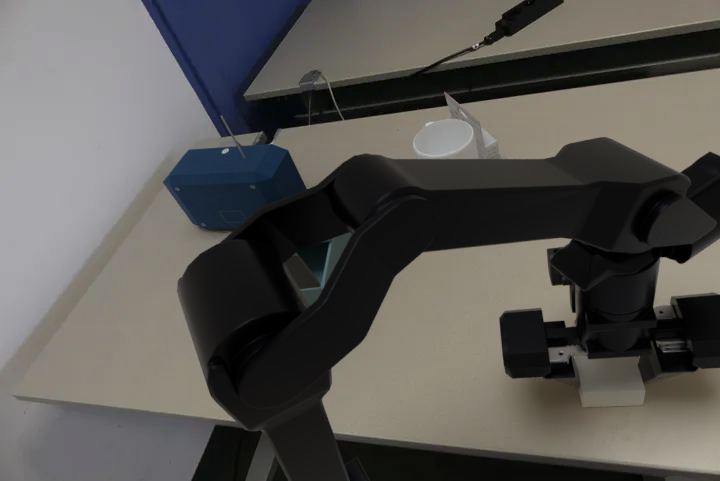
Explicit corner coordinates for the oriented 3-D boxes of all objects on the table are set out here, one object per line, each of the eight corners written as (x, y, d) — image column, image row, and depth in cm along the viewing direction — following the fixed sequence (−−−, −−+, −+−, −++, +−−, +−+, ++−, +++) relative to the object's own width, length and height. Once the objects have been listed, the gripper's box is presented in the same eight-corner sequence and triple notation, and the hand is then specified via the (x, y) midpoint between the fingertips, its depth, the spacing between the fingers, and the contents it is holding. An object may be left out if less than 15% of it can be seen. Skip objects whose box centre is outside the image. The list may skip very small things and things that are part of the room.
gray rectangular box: (643, 405, 50) (645, 390, 48) (582, 407, 52) (581, 393, 50) (633, 368, 53) (634, 352, 51) (575, 371, 55) (574, 356, 53)
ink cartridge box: (467, 135, 88) (457, 84, 81) (502, 168, 79) (494, 114, 73) (453, 142, 88) (443, 91, 81) (487, 175, 79) (478, 122, 73)
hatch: (321, 284, 63) (320, 287, 62) (227, 294, 66) (226, 297, 66) (296, 252, 57) (296, 255, 57) (195, 265, 61) (194, 268, 60)
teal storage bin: (342, 324, 68) (320, 284, 62) (254, 331, 72) (226, 295, 66) (355, 240, 78) (337, 200, 73) (277, 251, 82) (254, 213, 76)
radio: (316, 196, 88) (267, 93, 75) (297, 234, 83) (240, 130, 70) (216, 198, 97) (156, 106, 84) (193, 232, 92) (125, 140, 78)
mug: (494, 205, 75) (484, 140, 67) (439, 226, 75) (422, 164, 67) (464, 160, 83) (451, 98, 76) (415, 179, 84) (397, 120, 76)
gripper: (713, 198, 44) (688, 307, 55) (487, 228, 49) (504, 322, 60) (770, 305, 37) (728, 408, 47) (495, 327, 42) (513, 415, 52)
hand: (608, 382), depth 52 cm, fingers closed on gray rectangular box, 5 cm apart
